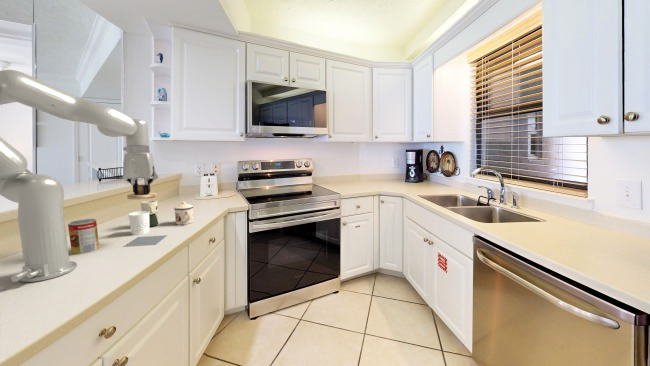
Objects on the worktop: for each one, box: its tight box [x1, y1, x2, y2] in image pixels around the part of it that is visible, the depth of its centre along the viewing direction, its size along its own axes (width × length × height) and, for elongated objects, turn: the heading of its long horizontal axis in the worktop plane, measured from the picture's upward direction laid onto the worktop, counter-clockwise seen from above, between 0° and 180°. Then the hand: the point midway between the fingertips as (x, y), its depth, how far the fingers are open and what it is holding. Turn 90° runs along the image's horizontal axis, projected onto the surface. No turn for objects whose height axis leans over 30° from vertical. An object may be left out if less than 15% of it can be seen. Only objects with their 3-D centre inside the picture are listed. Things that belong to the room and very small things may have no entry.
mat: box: [122, 234, 168, 248], centre depth 109 cm, size 12×12×1 cm
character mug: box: [140, 200, 159, 227], centre depth 131 cm, size 11×7×13 cm, turn 43°
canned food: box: [67, 218, 100, 255], centre depth 98 cm, size 8×8×12 cm
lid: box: [126, 184, 158, 200], centre depth 106 cm, size 10×10×5 cm
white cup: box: [128, 211, 151, 236], centre depth 119 cm, size 8×8×10 cm
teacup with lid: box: [173, 201, 195, 226], centre depth 137 cm, size 12×9×12 cm
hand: (142, 193), depth 106 cm, fingers closed on lid, 3 cm apart
